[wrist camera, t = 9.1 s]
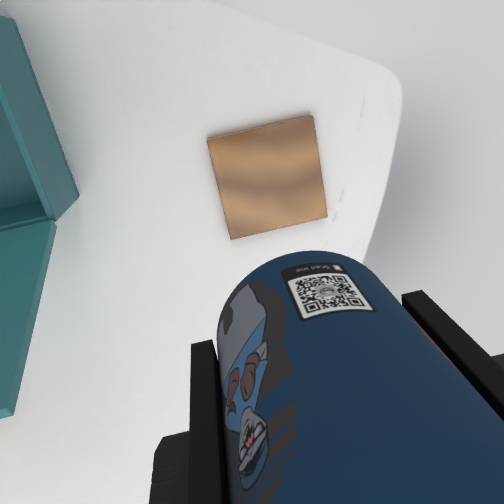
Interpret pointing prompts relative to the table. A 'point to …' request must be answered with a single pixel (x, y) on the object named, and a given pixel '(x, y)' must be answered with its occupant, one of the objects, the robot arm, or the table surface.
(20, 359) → the lid
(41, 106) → the teal lidded box
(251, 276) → the soda can
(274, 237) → the table surface
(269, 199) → the plate
